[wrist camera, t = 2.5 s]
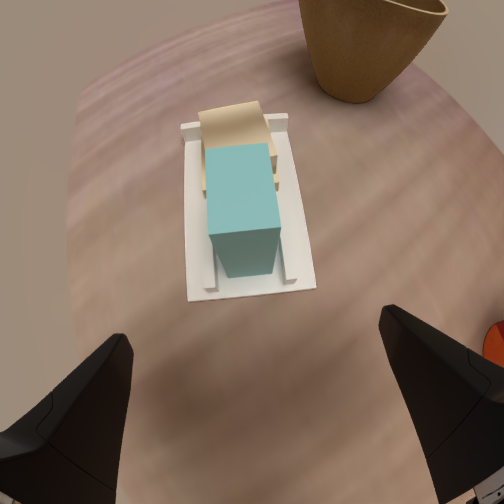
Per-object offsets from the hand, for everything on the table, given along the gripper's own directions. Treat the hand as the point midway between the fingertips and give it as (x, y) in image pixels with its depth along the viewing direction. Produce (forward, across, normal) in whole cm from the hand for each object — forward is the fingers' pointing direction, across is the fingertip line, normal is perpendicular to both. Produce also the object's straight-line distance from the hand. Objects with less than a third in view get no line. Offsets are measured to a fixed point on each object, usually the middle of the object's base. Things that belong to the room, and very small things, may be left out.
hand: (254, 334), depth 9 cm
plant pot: (+28, -14, -10) cm, 33 cm away
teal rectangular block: (+14, 0, +4) cm, 14 cm away
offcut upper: (+18, 0, -3) cm, 18 cm away
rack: (+17, 0, +1) cm, 17 cm away
